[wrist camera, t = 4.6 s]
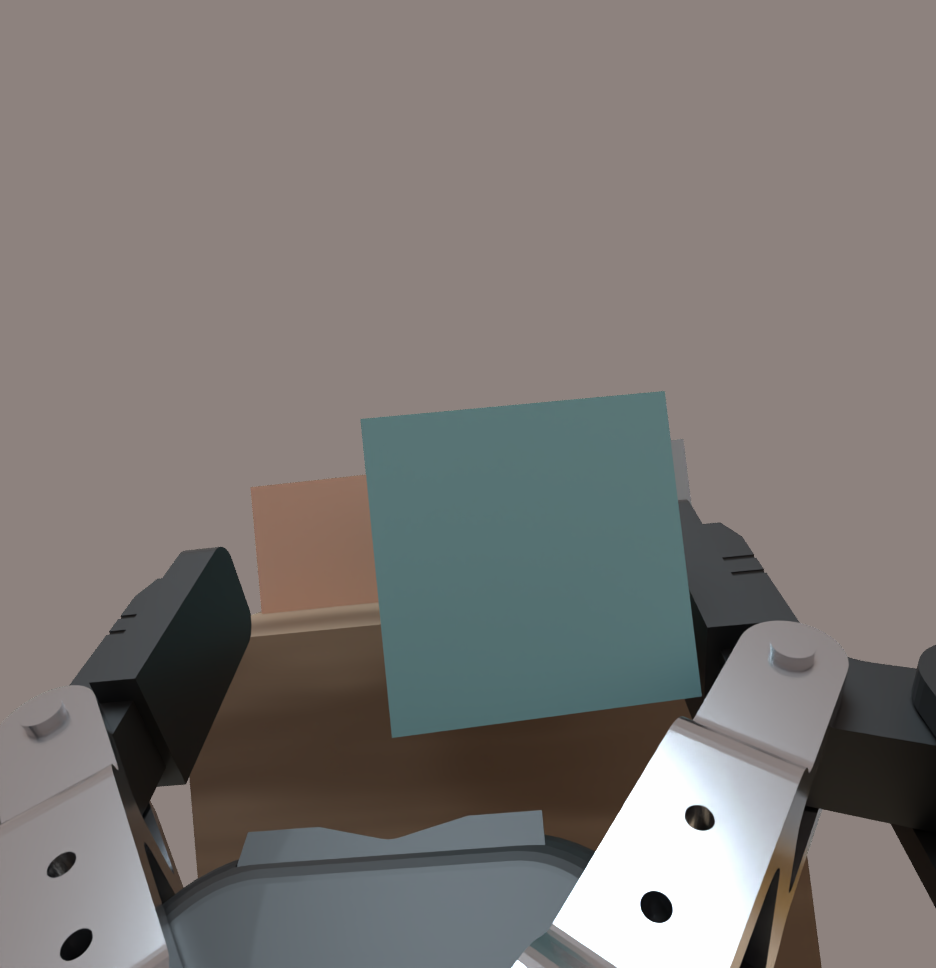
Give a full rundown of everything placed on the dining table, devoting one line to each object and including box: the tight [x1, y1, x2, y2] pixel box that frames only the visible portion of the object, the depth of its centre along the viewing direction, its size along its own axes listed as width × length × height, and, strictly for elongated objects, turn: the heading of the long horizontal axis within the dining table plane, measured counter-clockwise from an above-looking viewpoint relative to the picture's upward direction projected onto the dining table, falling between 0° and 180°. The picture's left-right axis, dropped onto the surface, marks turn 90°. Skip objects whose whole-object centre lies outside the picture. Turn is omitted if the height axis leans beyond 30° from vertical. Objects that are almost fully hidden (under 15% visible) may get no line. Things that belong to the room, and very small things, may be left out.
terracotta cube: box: [251, 475, 379, 614], centre depth 26 cm, size 4×4×4 cm
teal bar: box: [361, 391, 702, 738], centre depth 20 cm, size 24×4×4 cm, turn 5°
